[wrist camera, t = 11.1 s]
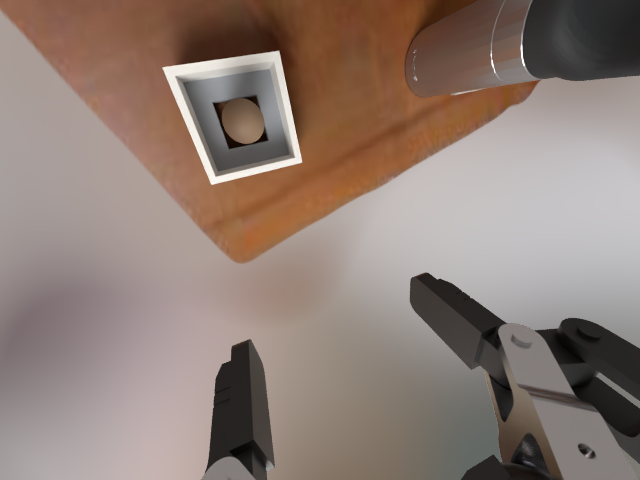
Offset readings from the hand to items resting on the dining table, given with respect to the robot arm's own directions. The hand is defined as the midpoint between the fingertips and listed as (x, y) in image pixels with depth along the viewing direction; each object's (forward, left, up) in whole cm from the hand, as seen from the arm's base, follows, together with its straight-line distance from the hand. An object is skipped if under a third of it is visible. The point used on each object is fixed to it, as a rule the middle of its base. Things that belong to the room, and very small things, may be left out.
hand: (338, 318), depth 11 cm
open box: (+1, -9, -30) cm, 31 cm away
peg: (+1, -9, -30) cm, 31 cm away
